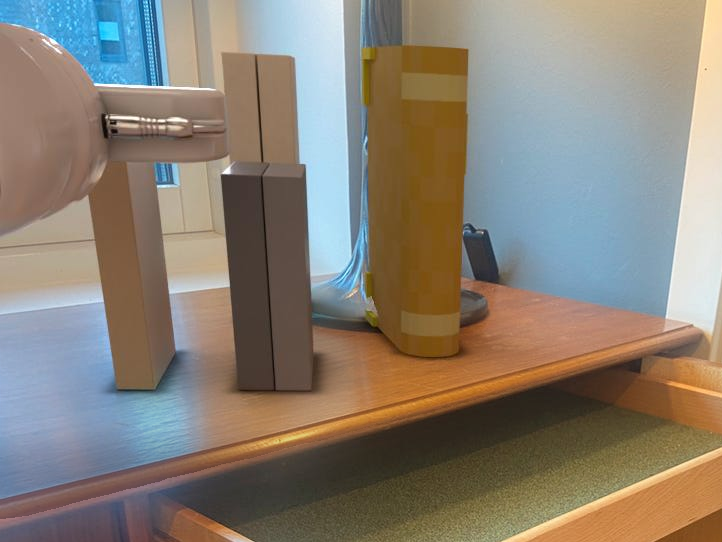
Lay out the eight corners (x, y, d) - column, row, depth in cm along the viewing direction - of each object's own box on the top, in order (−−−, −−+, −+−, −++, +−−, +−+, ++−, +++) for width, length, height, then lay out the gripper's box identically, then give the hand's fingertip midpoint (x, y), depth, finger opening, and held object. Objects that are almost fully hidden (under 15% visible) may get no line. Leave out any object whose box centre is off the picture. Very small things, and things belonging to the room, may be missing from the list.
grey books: (238, 390, 78) (220, 173, 70) (249, 353, 88) (234, 161, 80) (311, 390, 79) (301, 176, 71) (313, 354, 89) (305, 164, 81)
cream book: (116, 390, 77) (74, 105, 67) (141, 352, 87) (108, 100, 77) (154, 390, 77) (118, 107, 67) (176, 352, 88) (147, 102, 77)
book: (365, 318, 103) (361, 47, 91) (425, 317, 105) (429, 51, 93) (401, 358, 90) (402, 44, 77) (470, 355, 91) (482, 49, 79)
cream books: (242, 322, 99) (221, 51, 87) (251, 295, 111) (234, 54, 99) (302, 323, 100) (290, 55, 88) (305, 296, 112) (295, 57, 100)
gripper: (215, 61, 49) (237, 64, 61) (-219, 41, 46) (-107, 49, 58) (226, 196, 52) (246, 174, 64) (-179, 185, 50) (-80, 164, 61)
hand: (75, 114), depth 61 cm, fingers open, 8 cm apart
